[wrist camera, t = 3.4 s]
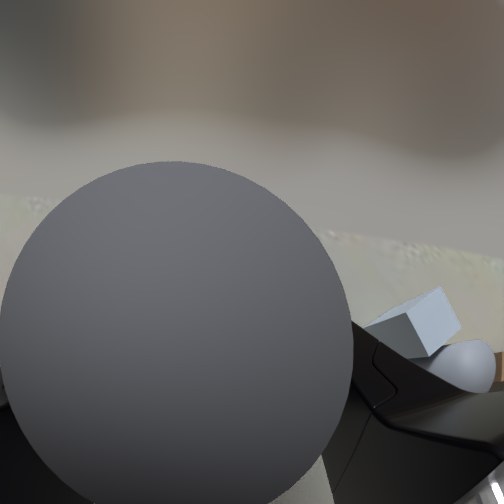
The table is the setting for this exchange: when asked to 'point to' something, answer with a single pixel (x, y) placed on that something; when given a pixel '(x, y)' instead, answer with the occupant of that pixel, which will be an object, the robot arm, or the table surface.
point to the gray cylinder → (176, 339)
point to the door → (499, 367)
